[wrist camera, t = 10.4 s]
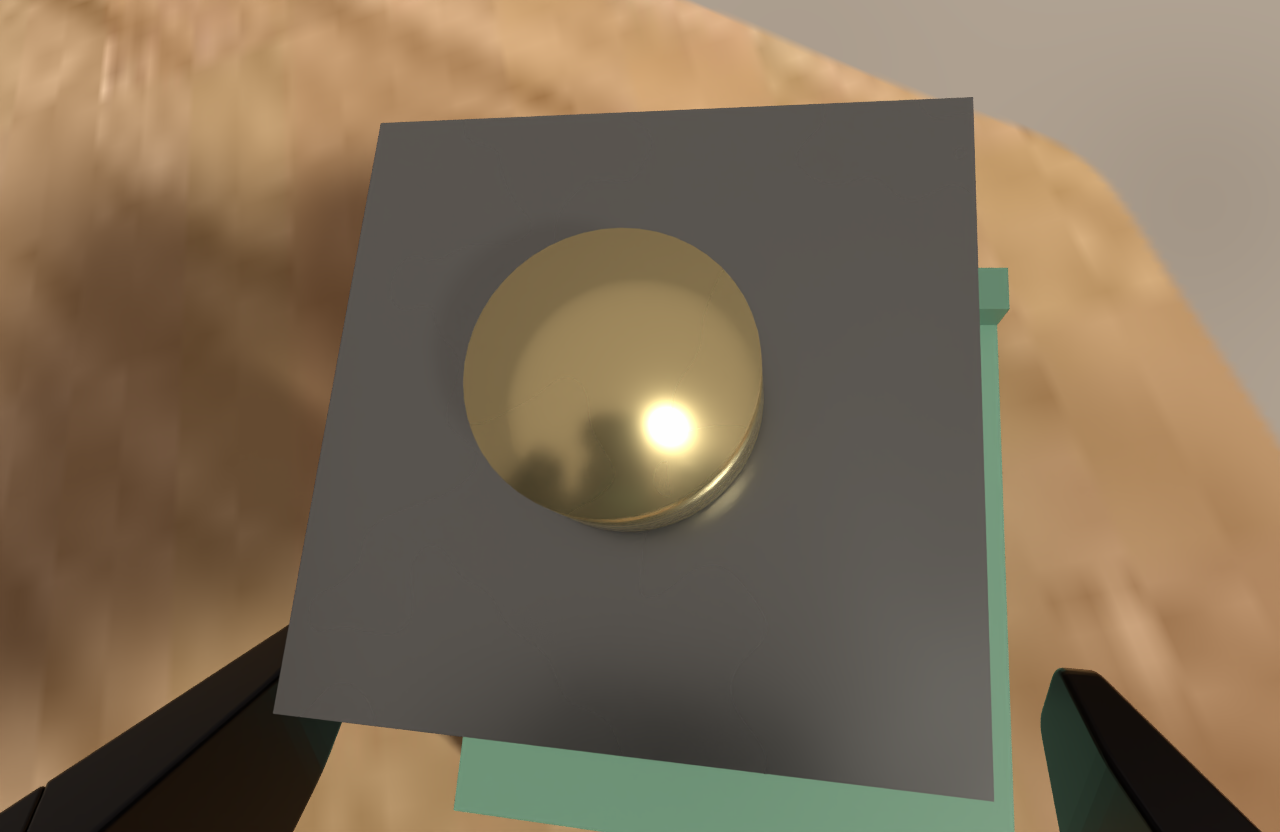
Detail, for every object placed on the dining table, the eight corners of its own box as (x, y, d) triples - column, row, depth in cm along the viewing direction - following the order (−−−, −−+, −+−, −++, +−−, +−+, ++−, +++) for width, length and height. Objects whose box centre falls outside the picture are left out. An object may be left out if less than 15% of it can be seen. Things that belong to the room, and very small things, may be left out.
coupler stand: (983, 852, 17) (1032, 910, 14) (493, 785, 20) (434, 821, 16) (970, 323, 20) (1007, 267, 17) (547, 319, 23) (507, 268, 19)
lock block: (837, 662, 17) (1036, 840, 4) (617, 642, 17) (191, 731, 5) (841, 442, 18) (1001, 20, 5) (633, 433, 19) (330, 61, 6)
